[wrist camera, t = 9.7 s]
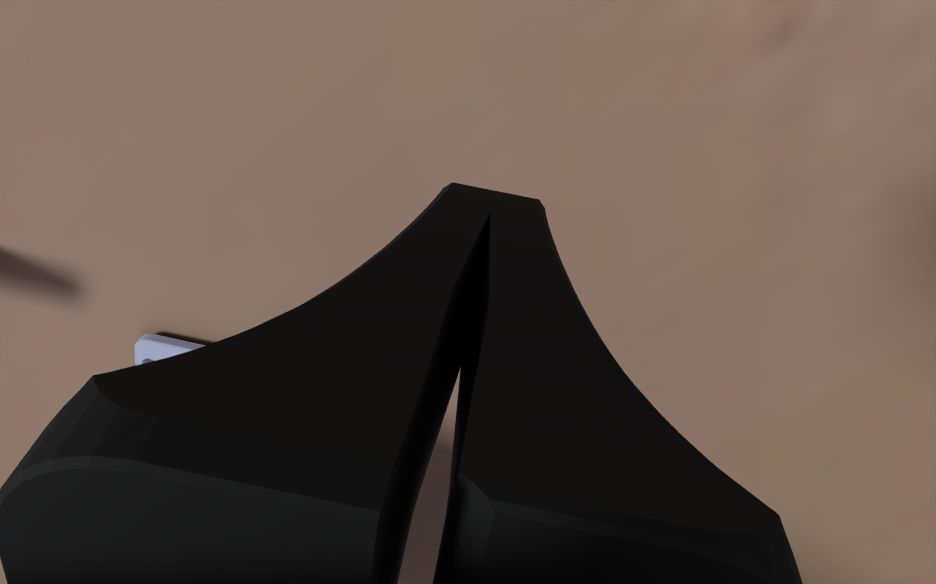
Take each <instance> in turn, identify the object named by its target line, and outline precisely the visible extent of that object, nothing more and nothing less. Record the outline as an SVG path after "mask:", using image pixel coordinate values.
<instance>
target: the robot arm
mask: <svg viewBox="0 0 936 584" xmlns="http://www.w3.org/2000/svg"><path fill="white" fill-rule="evenodd" d="M150 359H152V360H154V361H151V360H150ZM135 362H136V366H132V367H128V368H124V369H120V370H116V371H112V372H108V373H103V374H98V375H93V376H92V377H91V378H90V379H89V380H88V382H87V383H86V384H85V385H84V386H83V387H82V388H81V389H80V390H79V391H78V392H77V393H76V394H75V395H74V396H73V398H72V399H71V400H70V401H69V402H68V403H67V404H66V405H65V406H64V407H63V408H62V409H61V410H60V411H59V413H58V414H57V415H56V416H55V417H54V418H53V420H52V421H51V422H50V423H49V424H48V425H47V427H46V428H45V429H44V431H43V432H42V433H41V435H40V436H39V437H38V439H37V440H36V441H35V443H34V444H33V445H32V447H31V448H30V450H29V451H28V452H27V454H26V455H25V456H24V458H23V459H22V460H21V462H20V463H19V464H18V466H17V467H16V468H15V470H14V471H13V472H12V474H11V475H10V476H9V478H8V479H7V481H6V482H5V483H4V485H3V486H2V487H1V489H0V558H1V562H2V565H3V569H4V573H5V576H6V580H7V583H8V584H397V582H398V577H399V573H400V568H401V564H402V559H403V555H404V550H405V546H406V541H407V537H408V533H409V528H410V524H411V519H412V515H413V511H414V508H415V504H416V501H417V497H418V494H419V490H420V487H421V484H422V481H423V478H424V475H425V472H426V469H427V466H428V463H429V460H430V457H431V454H432V451H433V448H434V445H435V442H436V439H437V436H438V433H439V430H440V427H441V424H442V421H443V418H444V415H445V412H446V409H447V406H448V403H449V400H450V397H451V394H452V391H453V388H454V385H455V382H456V379H457V376H458V373H459V370H460V367H461V371H460V381H459V392H458V402H457V412H456V423H455V434H454V444H453V455H452V466H451V476H450V487H449V496H448V503H447V510H446V518H445V524H444V529H443V534H442V539H441V544H440V549H439V554H438V559H437V565H436V570H435V575H434V580H433V584H802V580H801V577H800V574H799V571H798V568H797V564H796V561H795V558H794V555H793V552H792V550H791V547H790V544H789V541H788V539H787V536H786V533H785V531H784V528H783V525H782V522H781V519H780V516H779V515H778V514H777V513H776V512H774V511H773V510H772V509H771V508H769V507H768V506H767V505H765V504H764V503H763V502H761V501H760V500H759V499H758V498H756V497H755V496H754V495H752V494H751V493H750V492H748V491H747V490H746V489H745V488H743V487H742V486H741V485H739V484H738V483H737V482H735V481H734V480H733V479H732V478H730V477H729V476H728V475H726V474H725V473H724V472H722V471H721V470H720V469H719V468H717V467H716V466H715V465H714V464H713V463H712V462H710V461H709V460H708V459H707V458H706V457H705V456H704V455H703V454H702V453H700V452H699V451H698V450H697V449H696V448H695V447H694V446H693V445H692V444H691V443H689V442H688V441H687V440H686V439H685V438H684V437H683V436H682V435H681V434H680V433H679V432H678V431H677V430H676V429H675V428H674V427H673V426H672V425H671V424H670V423H669V422H668V421H667V420H666V419H665V418H664V417H663V416H662V415H661V414H660V413H659V412H658V411H657V410H656V409H655V407H654V406H653V405H652V404H651V403H650V402H649V401H648V400H647V398H646V397H645V396H644V395H643V394H642V393H641V392H640V391H639V390H638V388H637V387H636V386H635V385H634V384H633V383H632V381H631V380H630V379H629V378H628V376H627V375H626V374H625V373H624V371H623V370H622V369H621V367H620V366H619V364H618V363H617V362H616V360H615V359H614V357H613V356H612V355H611V353H610V352H609V350H608V349H607V347H606V346H605V344H604V342H603V341H602V339H601V338H600V336H599V334H598V333H597V331H596V330H595V328H594V326H593V324H592V323H591V321H590V319H589V317H588V315H587V314H586V312H585V310H584V308H583V306H582V305H581V303H580V301H579V299H578V297H577V295H576V293H575V291H574V289H573V286H572V284H571V282H570V280H569V277H568V275H567V273H566V271H565V269H564V266H563V264H562V262H561V259H560V257H559V254H558V252H557V249H556V246H555V243H554V241H553V238H552V235H551V232H550V228H549V225H548V221H547V217H546V212H545V208H544V206H543V205H542V203H541V202H540V200H539V199H533V198H528V197H523V196H518V195H513V194H508V193H503V192H498V191H493V190H488V189H483V188H478V187H473V186H468V185H463V184H458V183H451V184H449V185H448V186H446V187H444V188H443V189H442V190H441V192H440V193H439V194H438V195H437V197H436V198H435V199H434V200H433V201H432V202H431V203H430V205H429V206H428V207H427V208H426V209H425V210H424V211H423V212H422V213H421V214H420V215H419V216H418V217H417V218H416V219H415V220H414V221H413V222H412V223H411V224H410V225H409V226H408V227H407V228H405V229H404V230H403V231H402V232H401V233H400V234H399V235H398V236H397V237H395V238H394V239H393V240H392V241H391V242H390V243H389V244H388V245H386V246H385V247H384V248H383V249H382V250H381V251H379V252H378V253H377V254H375V255H374V256H373V257H371V258H370V259H369V260H368V261H366V262H365V263H364V264H362V265H361V266H360V267H358V268H357V269H356V270H355V271H353V272H352V273H351V274H349V275H348V276H346V277H345V278H343V279H342V280H340V281H339V282H338V283H336V284H335V285H333V286H332V287H330V288H328V289H327V290H325V291H324V292H322V293H320V294H319V295H317V296H315V297H314V298H312V299H310V300H309V301H307V302H305V303H304V304H302V305H300V306H298V307H296V308H294V309H292V310H290V311H288V312H286V313H284V314H282V315H279V316H277V317H275V318H273V319H271V320H269V321H267V322H265V323H262V324H260V325H258V326H256V327H254V328H252V329H249V330H247V331H244V332H242V333H239V334H237V335H234V336H231V337H229V338H226V339H223V340H221V341H218V342H215V343H212V344H209V345H201V344H197V343H192V342H188V341H183V340H178V339H174V338H169V337H165V336H160V335H156V334H145V335H142V336H141V337H140V338H139V340H138V341H137V343H136V344H135Z"/></svg>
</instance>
